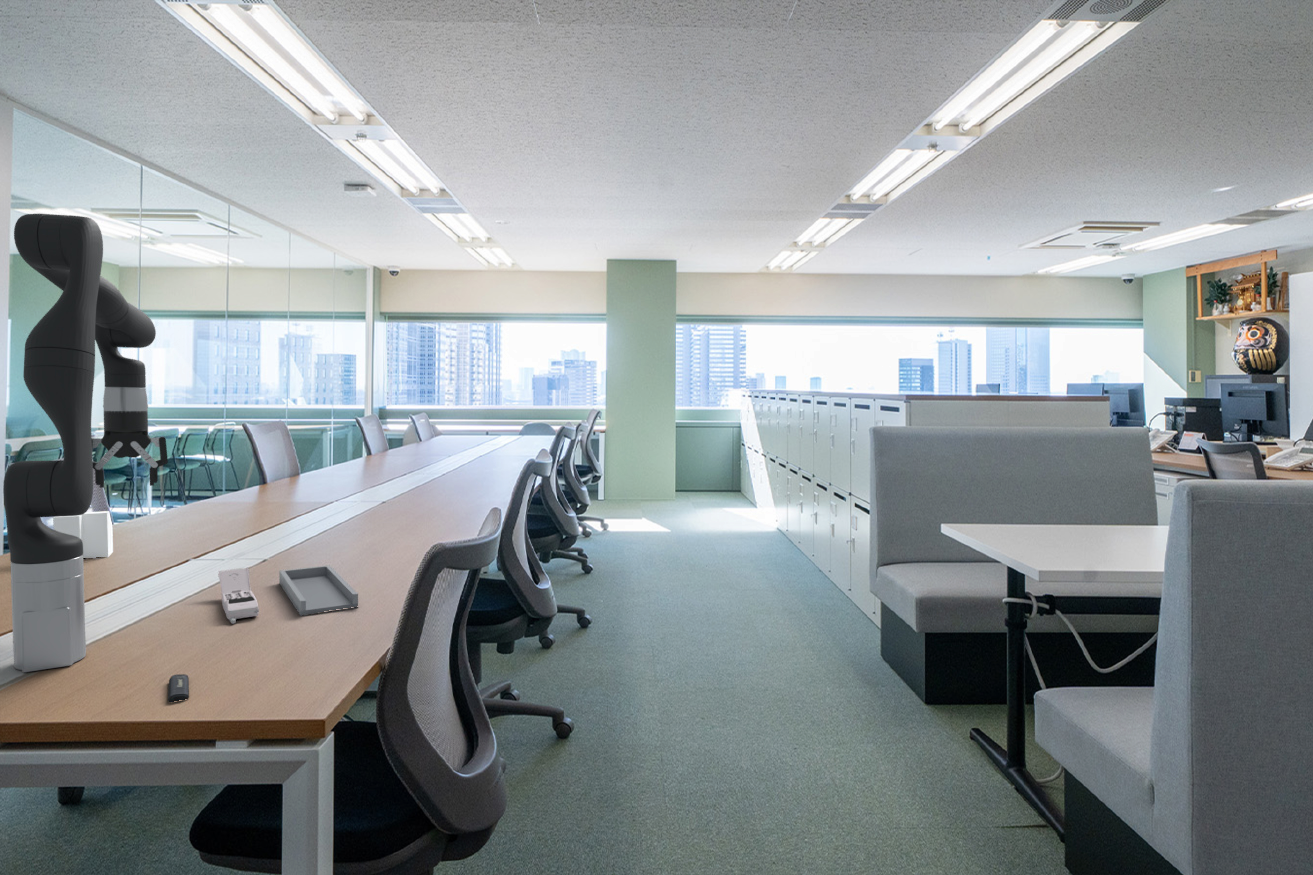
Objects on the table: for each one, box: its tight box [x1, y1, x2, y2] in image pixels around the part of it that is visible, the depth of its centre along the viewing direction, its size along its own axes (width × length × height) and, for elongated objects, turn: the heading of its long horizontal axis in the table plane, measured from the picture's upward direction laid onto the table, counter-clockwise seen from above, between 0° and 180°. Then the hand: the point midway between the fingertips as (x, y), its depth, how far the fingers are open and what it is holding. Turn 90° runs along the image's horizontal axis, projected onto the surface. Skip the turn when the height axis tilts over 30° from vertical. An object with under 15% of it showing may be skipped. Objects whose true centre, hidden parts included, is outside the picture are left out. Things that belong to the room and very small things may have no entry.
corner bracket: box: [52, 510, 114, 559], centre depth 196 cm, size 11×11×12 cm
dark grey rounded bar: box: [167, 673, 190, 703], centre depth 111 cm, size 10×3×2 cm, turn 33°
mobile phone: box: [217, 567, 260, 624], centre depth 154 cm, size 6×6×25 cm
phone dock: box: [278, 564, 359, 617], centre depth 164 cm, size 30×11×3 cm, turn 34°
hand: (127, 486), depth 155 cm, fingers open, 8 cm apart
